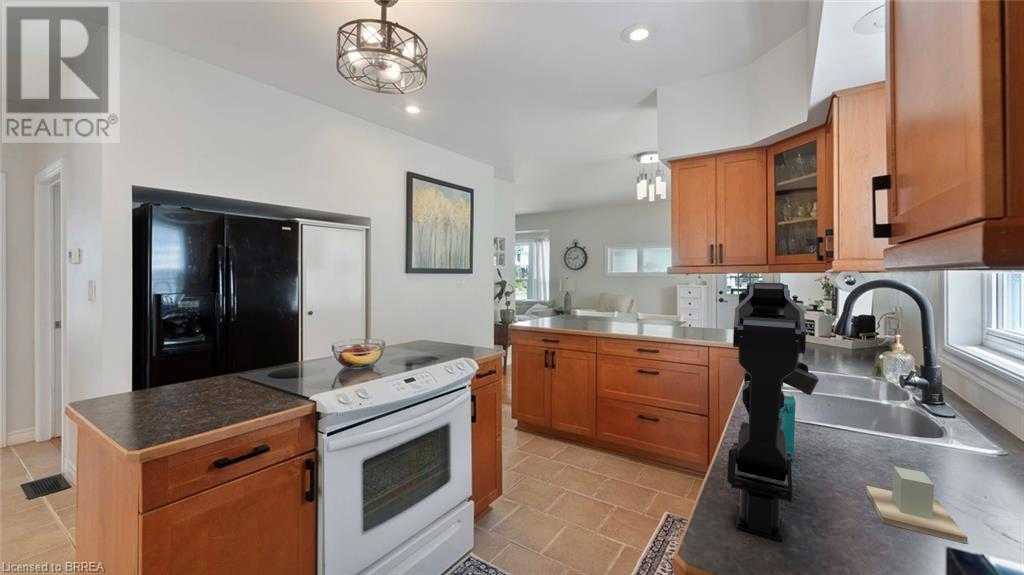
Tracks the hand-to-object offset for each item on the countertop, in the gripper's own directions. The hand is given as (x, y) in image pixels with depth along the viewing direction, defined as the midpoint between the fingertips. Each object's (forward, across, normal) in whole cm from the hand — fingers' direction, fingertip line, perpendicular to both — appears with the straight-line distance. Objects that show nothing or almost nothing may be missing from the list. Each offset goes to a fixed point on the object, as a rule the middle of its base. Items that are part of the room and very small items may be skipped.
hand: (760, 428), depth 78 cm
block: (+11, +5, -23) cm, 26 cm away
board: (+12, +5, -23) cm, 26 cm away
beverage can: (+12, +19, -4) cm, 23 cm away
